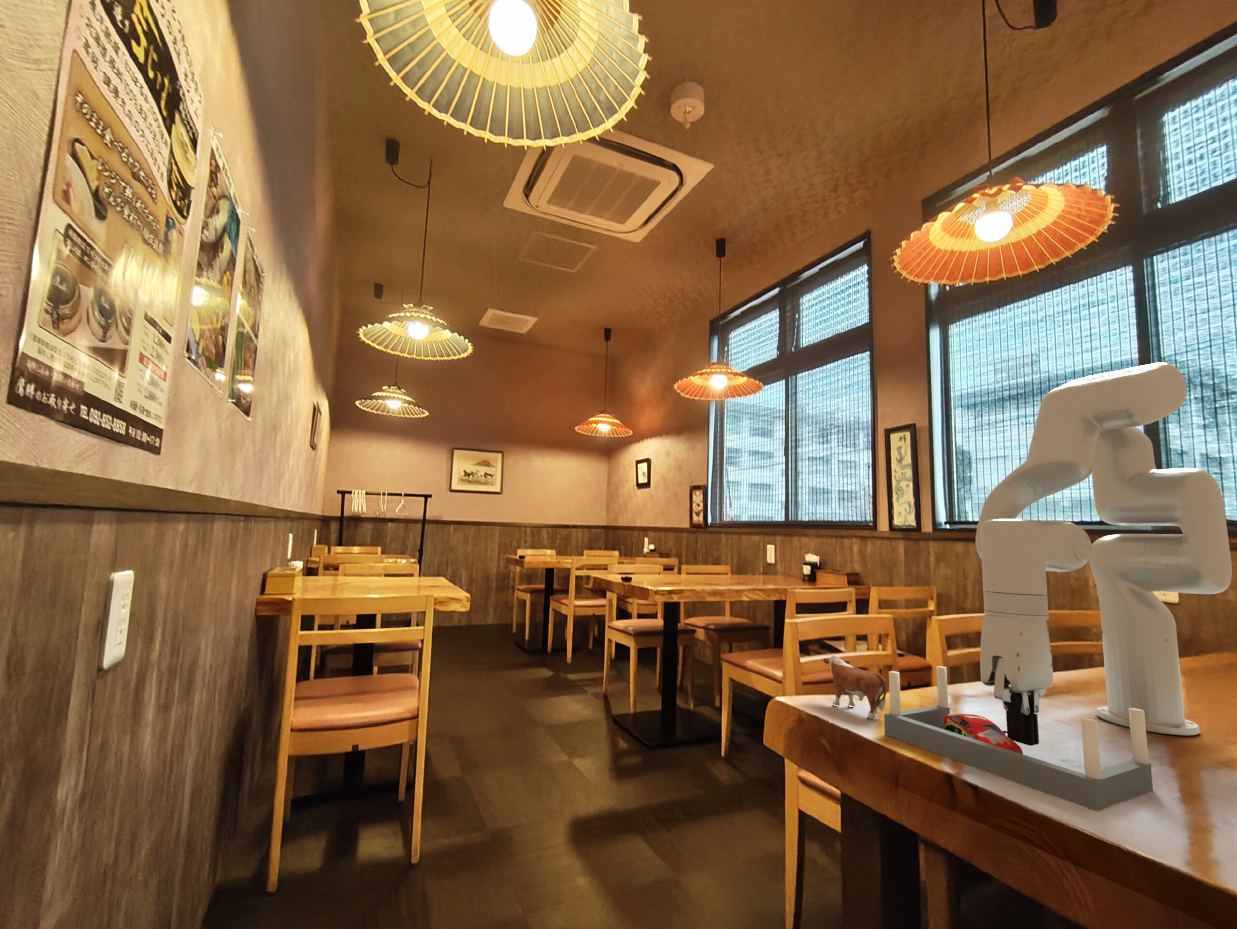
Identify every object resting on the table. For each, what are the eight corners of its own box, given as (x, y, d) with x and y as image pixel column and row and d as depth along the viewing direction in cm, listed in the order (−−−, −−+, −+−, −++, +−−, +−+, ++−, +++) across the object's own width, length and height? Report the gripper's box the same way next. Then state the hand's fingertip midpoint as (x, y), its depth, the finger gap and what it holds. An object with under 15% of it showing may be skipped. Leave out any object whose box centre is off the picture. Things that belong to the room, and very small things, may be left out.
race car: (1031, 769, 73) (1030, 736, 74) (988, 766, 74) (986, 734, 74) (976, 734, 86) (975, 707, 87) (939, 732, 87) (938, 705, 87)
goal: (942, 724, 90) (939, 665, 91) (1153, 789, 67) (1146, 710, 68) (884, 734, 84) (883, 671, 85) (1096, 811, 61) (1090, 723, 62)
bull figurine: (837, 698, 103) (836, 652, 104) (894, 721, 91) (892, 668, 92) (817, 699, 102) (816, 653, 103) (872, 723, 89) (871, 669, 90)
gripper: (1016, 602, 87) (1023, 727, 84) (957, 603, 80) (963, 740, 78) (1073, 608, 80) (1082, 744, 78) (1014, 610, 73) (1022, 759, 71)
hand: (1023, 741), depth 78 cm, fingers closed
